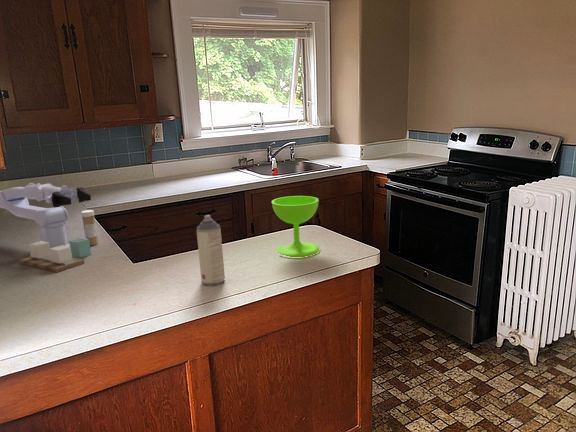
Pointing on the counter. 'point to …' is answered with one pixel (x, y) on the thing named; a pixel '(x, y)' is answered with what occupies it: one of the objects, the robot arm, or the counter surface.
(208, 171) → the counter surface
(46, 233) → the robot arm
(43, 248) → the mounted modules
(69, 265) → the rail board
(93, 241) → the sprinkles bottle
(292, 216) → the wineglass
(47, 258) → the rail
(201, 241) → the aerosol can
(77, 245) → the block
